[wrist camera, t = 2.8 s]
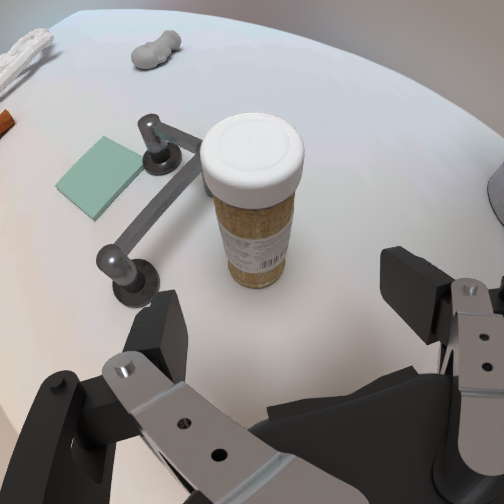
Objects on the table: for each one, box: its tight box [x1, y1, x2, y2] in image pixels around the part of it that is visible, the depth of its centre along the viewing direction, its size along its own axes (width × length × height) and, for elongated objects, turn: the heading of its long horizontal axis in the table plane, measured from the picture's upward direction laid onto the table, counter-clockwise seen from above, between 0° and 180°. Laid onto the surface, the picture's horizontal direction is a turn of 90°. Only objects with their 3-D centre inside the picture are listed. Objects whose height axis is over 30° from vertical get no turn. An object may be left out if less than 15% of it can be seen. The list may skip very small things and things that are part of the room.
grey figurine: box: [131, 31, 181, 69], centre depth 37 cm, size 4×8×5 cm
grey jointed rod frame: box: [96, 114, 213, 308], centre depth 24 cm, size 15×11×6 cm
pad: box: [55, 136, 146, 221], centre depth 29 cm, size 8×8×1 cm
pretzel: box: [0, 28, 54, 93], centre depth 41 cm, size 28×24×6 cm
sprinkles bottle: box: [200, 112, 305, 288], centre depth 19 cm, size 5×5×13 cm
